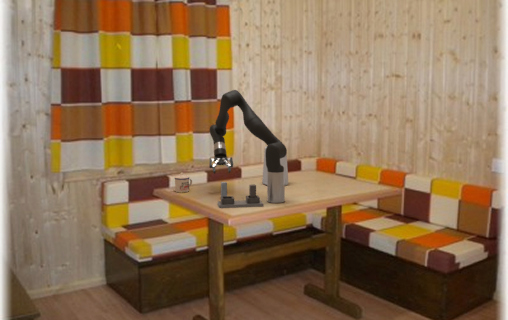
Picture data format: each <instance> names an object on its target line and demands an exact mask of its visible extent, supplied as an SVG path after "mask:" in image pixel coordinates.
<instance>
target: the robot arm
mask: <svg viewBox="0 0 508 320" xmlns="http://www.w3.org/2000/svg"><path fill="white" fill-rule="evenodd" d="M236 106H237V107H238V108H239V109H240V111H241V112H242V118H243V124H244V126H245V127H246V129H247V130H248V131H249V132H250V133H251V134H252V135H253V136H254V137H255V138H258V139H259V140H260V141H262V142H263V143H265V145H266V146H267V148H266V166H267V185H266V186H267V188H266V189H267V191H266V194H267V197H266V201H267V202H268V203H272V204H281V203H285V201H286V200H285V199H286V197H285V194H286V193H285V189H286V188H285V187H286V186H285V185H284V167H283V166H282V165H281V164H280V159H281V158H283V157H285V156H286V154H288V152H287V151H288V150H287V147H286V146H285V143H283V142H282V141H281V140H280V139H279V138H278V137H277V136H276V135H274V133H273V132H272V130H270V129H269V127H267V125H266V124H265V123H264V121H263V120H262V119H261V118H260V117H259V116H258V114H256V112H255V111H254V110H253V109H252V107H251V106H250V105H249V103H248V102H247V100H246V99H245V97H244V96H243V95H242V93H241V92H240V91H238V90H237V89H233V90H230V91H228V92H226V93H223V94H222V95H221V98H220V103H219V111H218V115H217V118H216V120H215V124H212V125H210V127H209V134H210V137H211V138H212V141H213V156H214V157H213V158H212V157H209V168H210V169H212V173H214V175H215V174H216V167H217V166H225V167H226V168H227V171H228V172H227V173H228V174H230V173H232V168H234V161H233V157H232V156H231V157H229V158H228V156H227V148H226V147H227V146H226V141H225V136H226V134H227V126H228V123H229V120H230V114H229V112H228V111H229V110H230V109H232V108H235V107H236ZM213 162H214V163H213ZM212 163H213V164H212Z"/></svg>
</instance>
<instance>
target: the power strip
mask: <svg viewBox="0 0 508 320" xmlns="http://www.w3.org/2000/svg"><path fill="white" fill-rule="evenodd" d="M248 188H249V189H248V190H249V192H248V193H249V194H248V195H245V200H235V198H234V196H232V195H227V196H222V197H221V196H220V201H219V200H218V201H217V202H216V203H217V207H218V209H231V208H232V209H233V208H258V207H259V208H260V207H264V203H263V202H262V200H261V198H260V196H259V195H257V185H256V184H252V183H251V184H249V187H248Z"/></svg>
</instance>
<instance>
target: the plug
mask: <svg viewBox="0 0 508 320" xmlns="http://www.w3.org/2000/svg"><path fill="white" fill-rule="evenodd" d="M222 196H228V182H227V181H221V182H220V198H221V197H222Z"/></svg>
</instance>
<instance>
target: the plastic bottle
mask: <svg viewBox="0 0 508 320" xmlns="http://www.w3.org/2000/svg"><path fill="white" fill-rule="evenodd" d="M267 146H268V145H266V146H264V151H263V153H264V154H263V166H262V178H261V179H262V181H261V182H262V184H263V185H264V186H267V166H266V148H267ZM287 154H288V153H287ZM287 154H286V156H285V157H283V158H281V159H280V164H281V165H282V166H283V167H284V185H285V187H286V186H288V184H289V172H288V171H289V170H288V155H287Z"/></svg>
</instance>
